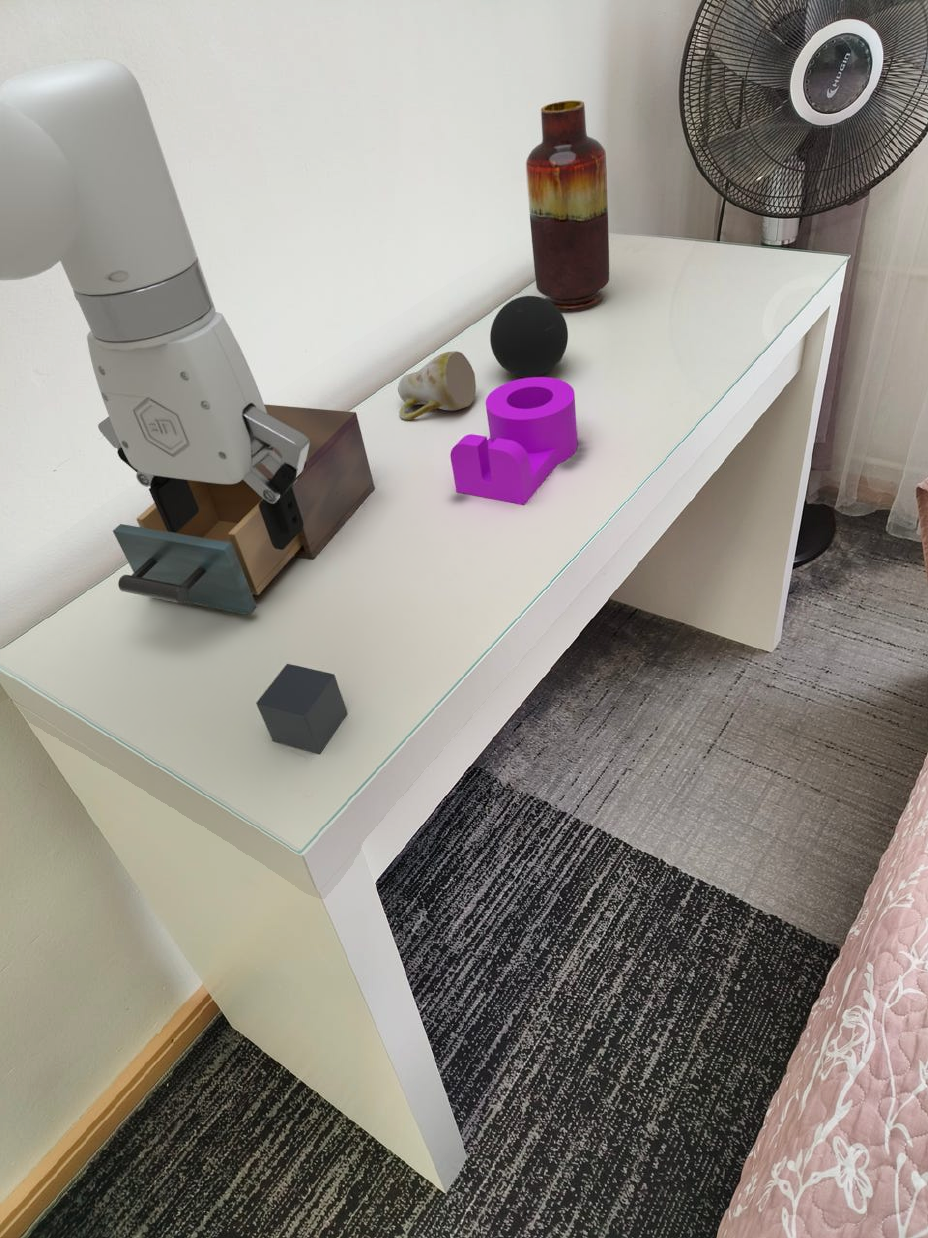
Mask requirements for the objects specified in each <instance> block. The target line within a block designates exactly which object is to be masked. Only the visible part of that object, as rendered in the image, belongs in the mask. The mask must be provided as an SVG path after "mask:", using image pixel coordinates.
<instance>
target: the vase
mask: <svg viewBox="0 0 928 1238" xmlns="http://www.w3.org/2000/svg"><path fill="white" fill-rule="evenodd" d="M585 108H586V107H585V102H584V101H582V100H563V101H562V100H561V101H558V102H557V101H556V102H552V103H549V104H547V105H546V104H545V105H544V106H542V107H541V109H540V123H541V124H540V125H541V142H540V143H539V144H537V145H536V146H534V148H533V149H532V150H531V151H530V153H529V154H528V156H527V158H526V160H525V173H526V186H527V187H526V188H527V198H528V199H527V200H528V211H529V212H528V213H529V222H530V223H529V225H530V234H531V235H530V236H531V245H532V246H531V247H532V257H533V267H534V278H535V285H536V290H537V291H538V292H539V293H540V294H541V295H544V296H545V297H544V299H546V300H548V301H550V302H551V303H553V304H554V305H555V306H556V307H557V308H558V309H559V310H560V312H561V313H577V312H582V311H586V310H590V309H592V308H595V307H597V306H599V305H600V304H601V303H602V302H603V300H604V292H603V289H604V288H605V287H606V286H607V285H608V283H609V282H610V243H609V242H610V241H609V239H610V238H609V237H610V236H609V203H608V170H607V153H606V149H605V148H604V146H603V144H601V143H600V142H599V141H598V140H597V139H596V138H593V137H591V136H588V135H587V134H588V133H587V125H586V124H587V122H586V110H585Z"/></svg>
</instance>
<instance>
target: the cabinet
mask: <svg viewBox="0 0 928 1238" xmlns="http://www.w3.org/2000/svg"><path fill="white" fill-rule="evenodd" d="M264 406H265V409H266V412H267V414H268V415H270V416H272V417H274V418H276V419H277V420H279V421H281V422H283V423H285V424H286V425H288V426H290V427H292V428H294V429H295V430H297V431H299V432H301V433H303V434H304V435H306V436H307V437H308V439H309V443H310V444H309V449H308V453H307V458H306V461H305V463H306V468H305V469H304V471H303V472H302V473H301V475H300V476H299V477H298V480H297V481H296V482H295V483H294V484H293V485H292V489H293V492H294V495H295V498H296V501H297V504H298V507H299V510H300V514H301V517H302V520H303V529H302V530H301V531H300V532H299V535H300V538H301V541H302V544H303V546H302V547H301V548H300V549H299V550H298V551H297V552H296V553H295V555H294V556H293V557H296V558H303V559H309V560H314V559H316V557H317V556H318V554H320V553H321V552H322V550H323V549H324V548H325V547H326V546H327V545H328V544H329V542H330V541H331V540H332V539H333V538H334V536H335V535H336V534H337V533H338V532H339V531H340V529H341V528H342V527H343V526H344V525H345V524H346V522H347V521H348V520H349V519H350V518H351V517H352V515H354V513H355V512H356V511H357V510H358V509H359V508H360V506H361V505H362V504H363V503H364V501H365V500H366V499H367V498H368V497H369V496H370V495H371V494H372V492H373V491H374V490H375V489H376V487H375V483H374V479H373V474H372V471H371V467H370V462H369V458H368V455H367V451H366V446H365V443H364V438H363V435H362V430H361V426H360V422H359V419H358V414H357V412H356V411H346V410H335V409H322V408H311V407H300V406H287V405H275V404H265V403H264ZM273 451H274V452H275V453H276V454H277V455H278V456H279V457H280V458H281V453H280V452H279V451H278V450H277V449H276V448H274V450H273ZM253 455H254V454H251V457H252V456H253ZM255 468H257V469H258V470H259V471H260V472H261V473H262V474H263V475H264V476H265V477H266V478H267V479H268V480H269V481H270V480H271V479H272V477H273V476H274V474H273V473H272V472H271V471H270V470H269V469H267V468H266V467H265V466H264V465H263V464H262V463H261V462H260V463H259V464H258V465H257V466H256V467H255ZM241 481H244V480H243V479H242V480H241Z"/></svg>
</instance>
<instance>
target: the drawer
mask: <svg viewBox="0 0 928 1238" xmlns="http://www.w3.org/2000/svg"><path fill="white" fill-rule="evenodd" d="M187 481H188V483H189V486H190V488H191V491H192V493H193V495H194V498H195V500H196V503H197V505H198V508H199V512H198V513H197V514H196V515H195V516H194V517H193V518H192V519H191V520H190V521H189V522H188V523H186V524H185V525H184V526H183V527H182V528H181V529H180V530H179V531H178V532H176V533H173V532H168V531H167V529H166V527H165V525H164V522H163V520H162V518H161V516H160V513H159V511H158V509H157V507H156V505H155V502H154V503H152V504H151V505H150V506H148V508H147V509H145V510H144V511H143V512H142V513H141V514H140V515H138V516H137V517H136V519H135V520H136V521H137V524H138V525H139V526H135V525H129V524H124V523H119V525H117V526H116V527H115V528H114V529H113V530H112V532H113V535H114V537H115V538H116V541H117V543H118V544H119V547H120V548H121V550H122V553H123V554H124V556H125V559H126V560H127V562H128V565H129V567H130V569H131V570H132V572H133V573H132V574H131V575H130V574H123V575H121V576H120V577H119V579H118V589H119V590H120V591H121V592H123V593H129V594H133V595H138V596H142V597H148V598H153V599H157V600H163V601H168V602H171V603H177V604H184V603H190V604H194V605H199V606H204V607H209V608H214V609H220V610H225V611H228V612H233V613H237V614H243V615H249V616H251V615H252V614H254V612H255V611H256V610H257V608H258V605H257V604H256V600H255V598H254V596H253V595H255V596H259V595H260V594H261V593H262V592H263V591H264V589H266V587H267V586H268V585H269V584H270V583H271V581H272V580H273V579H274V578H275V577H276V576H277V575H278V574H279V573H280V571H282V569H283V568H284V567H285V566H286V565H287V564H288V563H289V561H290V560H291V559H292V558H293V557H295V556H294V555H295V553H296V552H297V551H298V550H299V549H300V548H301V547H302V546H303V544H302V541H301V538H300V535H299V533H298V534H297V535H296V537H295V538H294V539H293V540H292V541H291V542H290V543H289V544H288V545H287V546H286V548H285V549H284V550H279V549H275V548H274V547H273V545H272V543H271V540H270V537H269V534H268V531H267V529H266V526H265V523H264V520H263V517H262V515H261V512H260V509H259V503H260V502H261V501H262V500H263V498H262V497H261V496H260V495H259V494H258V493H257V492H256V491H255V490H254V489H253V488H252V487H250V486H249V485H248V484H247V483H246V482H245V481H240V482H238V483H235V484H217V483H208V482H200V481H192V480H187Z"/></svg>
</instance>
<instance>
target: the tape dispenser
mask: <svg viewBox="0 0 928 1238" xmlns="http://www.w3.org/2000/svg"><path fill="white" fill-rule="evenodd" d="M575 393H576V392H575V390H574V388H573V386H572V385H571V384H569V383H568V382H567V381H564V380H562V379H558V378H556V377H555V378H554V377H547V376H536V377H522V378H519V379H514V380H511V381H508V382H506V383H504V384H501V385H499V386H498V387H496V388H494V389H493V390H492V391H491V392H490V393H489V394H488V395H487V397H486V399H485V408H486V409H485V410H486V415H487V423H488V432H489V438H488V436H486V435H481V434H480V435H479V434H475V433H474V434H473V433H469V434H467V435H465V436H463V437H462V438H461V439H460V440H459V441H458V442H457V443H456V444H454V446H453V447H452V448H451V450H450V456H449V457H450V463H451V468H452V474H453V479H454V485H455V491H456V493H460V494H466V495H469V496H470V495H471V496H475V497H482V498H486V499H492V500H497V501H502V502H506V503H511V504H517V505H522V506H525V505H526V504H527V503H528V501H529V500H530V499H531V497H532V496H533V495H534V494H535V493H536V491H537V490H538V489H539V488H540V486H542V484H543V482H545V480H546V479H547V478H548V477H549V476H550V475H551V473H552V472H553V471H554V470H555V468H556V467H557V466H558V465H559V464H561V463H563V462H565V461H567V460H569V459H570V458H571V457H572V456H573V455H574V454H575V453H576V451H577V449H578V443H579V442H578V428H577V427H578V426H577V413H576V412H577V411H576V396H575V395H576V394H575Z"/></svg>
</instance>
